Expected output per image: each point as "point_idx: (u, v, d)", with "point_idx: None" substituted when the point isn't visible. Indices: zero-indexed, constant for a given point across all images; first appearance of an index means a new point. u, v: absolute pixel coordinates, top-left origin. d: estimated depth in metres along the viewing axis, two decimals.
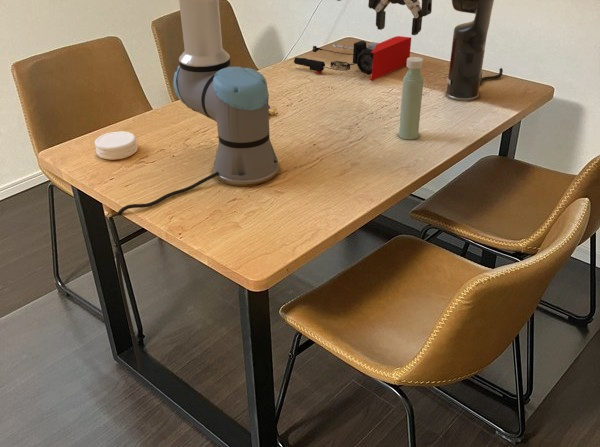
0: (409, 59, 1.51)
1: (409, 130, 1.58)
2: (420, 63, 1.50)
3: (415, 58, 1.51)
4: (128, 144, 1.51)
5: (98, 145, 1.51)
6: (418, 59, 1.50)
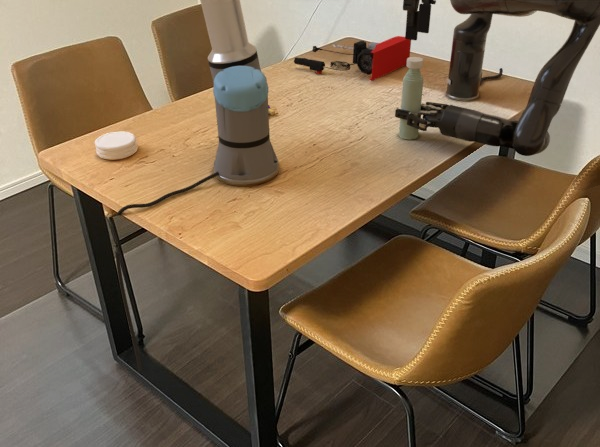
0: (409, 59, 1.51)
1: (409, 130, 1.58)
2: (420, 63, 1.50)
3: (415, 58, 1.51)
4: (128, 144, 1.51)
5: (98, 145, 1.51)
6: (418, 59, 1.50)
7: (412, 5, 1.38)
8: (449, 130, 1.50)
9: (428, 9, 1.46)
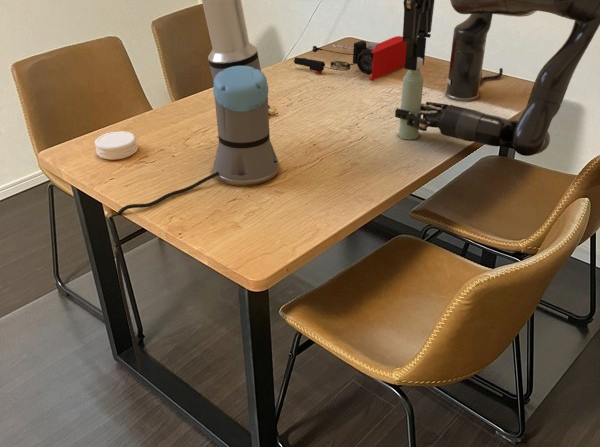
0: None
1: (409, 130, 1.58)
2: (420, 63, 1.50)
3: None
4: (128, 144, 1.51)
5: (98, 145, 1.51)
6: (418, 59, 1.50)
7: (411, 38, 1.43)
8: (449, 130, 1.50)
9: (423, 42, 1.50)
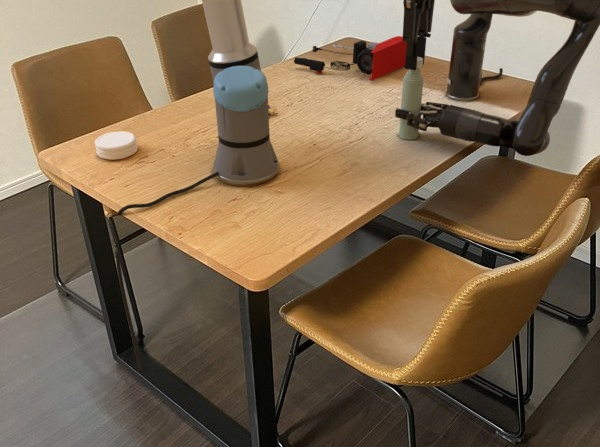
0: (417, 60, 1.50)
1: (409, 130, 1.58)
2: None
3: None
4: (128, 144, 1.51)
5: (98, 145, 1.51)
6: None
7: (411, 38, 1.43)
8: (449, 130, 1.50)
9: (423, 42, 1.49)
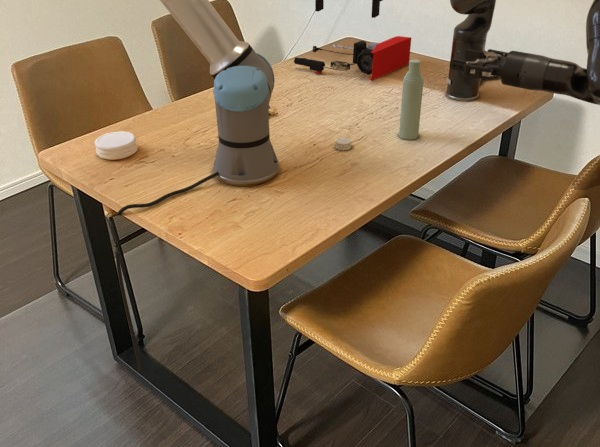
0: (347, 142, 1.54)
1: (410, 130, 1.58)
2: None
3: (341, 141, 1.55)
4: (128, 144, 1.51)
5: (98, 145, 1.51)
6: (342, 139, 1.56)
7: None
8: (512, 78, 1.35)
9: None
